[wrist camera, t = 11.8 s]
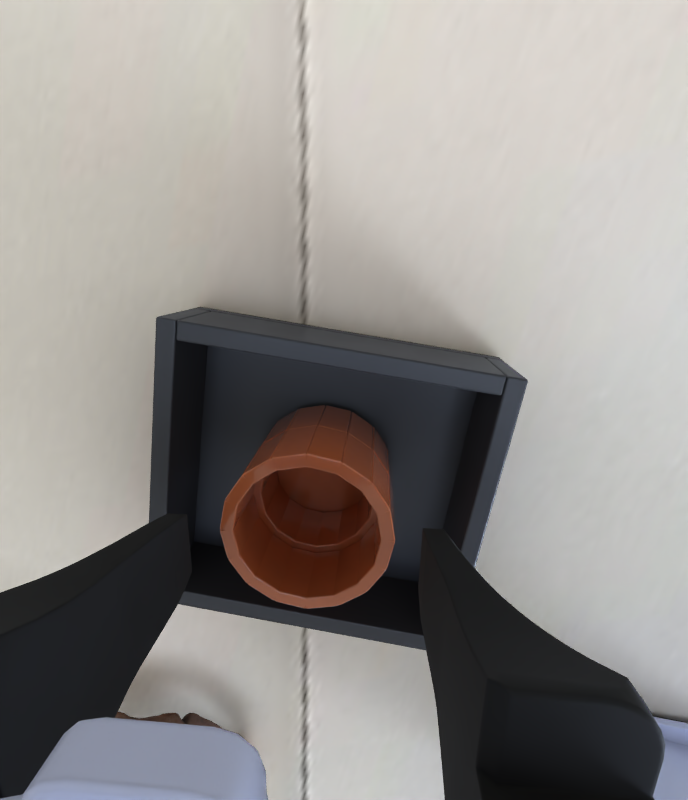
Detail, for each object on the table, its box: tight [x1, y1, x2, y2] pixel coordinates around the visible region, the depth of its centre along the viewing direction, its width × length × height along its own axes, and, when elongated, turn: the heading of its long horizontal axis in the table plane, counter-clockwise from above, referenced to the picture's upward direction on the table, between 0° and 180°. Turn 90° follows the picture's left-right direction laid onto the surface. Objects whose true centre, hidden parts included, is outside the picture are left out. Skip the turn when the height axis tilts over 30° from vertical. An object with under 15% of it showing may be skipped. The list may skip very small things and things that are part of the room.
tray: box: [149, 307, 528, 650], centre depth 18 cm, size 12×11×4 cm
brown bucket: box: [220, 405, 395, 609], centre depth 17 cm, size 6×6×6 cm
